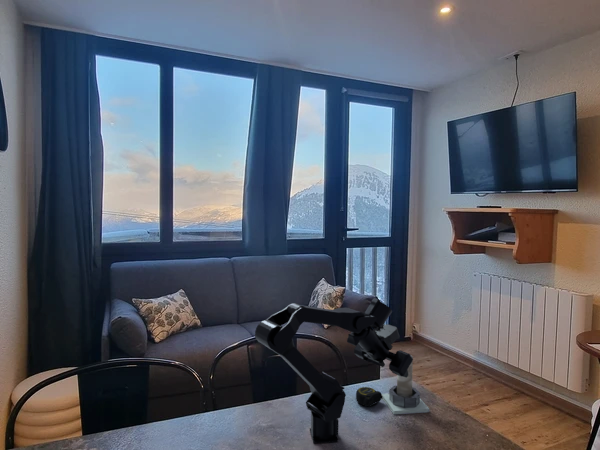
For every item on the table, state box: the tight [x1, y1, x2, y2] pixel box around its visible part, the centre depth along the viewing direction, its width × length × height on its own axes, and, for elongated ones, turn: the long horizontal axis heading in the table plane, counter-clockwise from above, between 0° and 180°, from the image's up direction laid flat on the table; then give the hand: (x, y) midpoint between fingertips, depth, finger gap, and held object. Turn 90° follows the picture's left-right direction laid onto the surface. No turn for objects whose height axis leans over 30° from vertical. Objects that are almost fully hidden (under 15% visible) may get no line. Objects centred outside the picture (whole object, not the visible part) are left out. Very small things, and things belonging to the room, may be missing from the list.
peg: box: [396, 354, 414, 397], centre depth 125 cm, size 4×4×14 cm
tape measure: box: [355, 386, 383, 407], centre depth 126 cm, size 7×7×4 cm
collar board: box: [381, 392, 430, 415], centre depth 125 cm, size 11×11×1 cm
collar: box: [388, 385, 421, 408], centre depth 125 cm, size 8×8×3 cm
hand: (395, 370), depth 122 cm, fingers open, 9 cm apart
